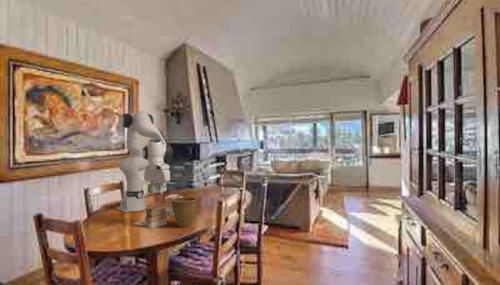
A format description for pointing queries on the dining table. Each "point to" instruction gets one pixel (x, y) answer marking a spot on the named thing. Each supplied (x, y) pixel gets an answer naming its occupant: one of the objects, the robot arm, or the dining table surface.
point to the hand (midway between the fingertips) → (157, 189)
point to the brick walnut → (155, 211)
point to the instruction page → (140, 223)
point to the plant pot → (184, 210)
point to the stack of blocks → (168, 203)
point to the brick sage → (156, 188)
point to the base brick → (155, 221)
